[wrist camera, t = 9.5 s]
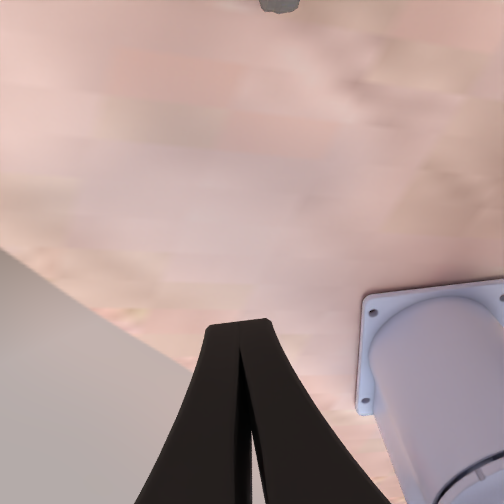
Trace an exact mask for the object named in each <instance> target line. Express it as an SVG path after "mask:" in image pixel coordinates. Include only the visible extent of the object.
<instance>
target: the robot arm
mask: <svg viewBox="0 0 504 504" xmlns="http://www.w3.org/2000/svg"><path fill="white" fill-rule="evenodd" d="M503 294H504V279H497V280H488V281H480V282H471V283H463V284H454V285H446V286H437V287H429V288H420V289H412V290H403V291H395V292H387V293H378V294H371V295H368V296H367V297H365V299H364V300H363V304H362V318H361V333H360V348H359V362H358V377H357V392H356V406H355V408H356V411H357V413H358V414H359V415H361V416H366V415H374V417H375V420H376V422H377V425H378V428H379V430H380V433H381V436H382V438H383V441H384V444H385V446H386V449H387V452H388V454H389V457H390V460H391V462H392V465H393V468H394V470H395V473H396V476H397V478H398V481H399V484H400V486H401V489H402V492H403V494H404V497H405V500H406V502H407V504H504V295H503ZM502 295H503V296H502ZM373 309H375V310H374V311H373V312H370V311H371V310H373ZM251 430H252V434H251ZM251 435H253V440H254V446H255V451H256V455H257V461H258V467H259V471H260V477H261V482H262V487H263V493H264V498H265V503H266V504H391V503H390V502H389V500H388V499H387V498H386V497H385V496H384V495H383V493H382V492H381V491H380V490H379V489H378V488H377V486H376V485H375V484H374V483H373V482H372V480H371V479H370V478H369V477H368V475H367V474H366V473H365V472H364V470H363V469H362V468H361V467H360V465H359V464H358V463H357V462H356V460H355V459H354V458H353V457H352V455H351V454H350V453H349V451H348V450H347V449H346V447H345V446H344V445H343V443H342V442H341V441H340V439H339V438H338V437H337V435H336V434H335V432H334V431H333V430H332V428H331V427H330V425H329V424H328V423H327V421H326V420H325V418H324V417H323V415H322V414H321V413H320V411H319V410H318V408H317V407H316V405H315V404H314V402H313V400H312V399H311V397H310V396H309V394H308V392H307V391H306V389H305V388H304V386H303V384H302V383H301V381H300V380H299V378H298V376H297V375H296V373H295V371H294V369H293V368H292V366H291V364H290V362H289V360H288V358H287V357H286V355H285V353H284V351H283V349H282V347H281V345H280V343H279V340H278V338H277V336H276V333H275V331H274V328H273V325H272V322H271V321H270V320H268V319H267V318H262V319H254V320H246V321H238V322H230V323H222V324H214V325H210V326H209V327H208V328H207V329H206V330H205V335H204V340H203V344H202V348H201V352H200V355H199V358H198V361H197V364H196V367H195V370H194V373H193V376H192V379H191V382H190V385H189V387H188V390H187V392H186V395H185V397H184V400H183V403H182V405H181V408H180V410H179V413H178V415H177V417H176V420H175V422H174V424H173V426H172V429H171V431H170V433H169V435H168V437H167V440H166V442H165V444H164V446H163V448H162V451H161V453H160V455H159V457H158V459H157V461H156V463H155V465H154V467H153V469H152V471H151V473H150V475H149V477H148V479H147V481H146V483H145V485H144V487H143V488H142V490H141V492H140V494H139V496H138V498H137V499H136V502H135V503H134V504H252V436H251Z"/></svg>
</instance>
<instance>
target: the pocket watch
mask: <svg viewBox="0 0 504 504" xmlns="http://www.w3.org/2000/svg"><path fill="white" fill-rule="evenodd" d="M299 1H300V0H259V2H260V5H261V8H262V9H263V10H264V11H265V12H275V13H277V14H281V13H287V12H292V11H294V10H295V9H297V8H298V5H299Z"/></svg>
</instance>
